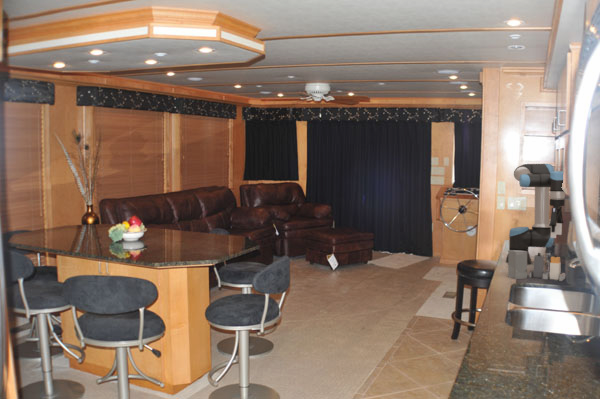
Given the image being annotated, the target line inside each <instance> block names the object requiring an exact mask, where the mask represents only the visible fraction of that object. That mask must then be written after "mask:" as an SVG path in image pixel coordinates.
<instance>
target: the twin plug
mask: <svg viewBox="0 0 600 399" xmlns="http://www.w3.org/2000/svg"><path fill="white" fill-rule="evenodd" d="M541 254H542V253H541V252H538V253H537V254H535V255H534V257H533V259H534V261H533V270H534V277H537V278H536V279H538V278H542V277H543V273H544V272H545V256H544V255H541Z"/></svg>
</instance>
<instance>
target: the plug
mask: <svg viewBox="0 0 600 399" xmlns="http://www.w3.org/2000/svg"><path fill="white" fill-rule="evenodd" d="M561 269H562V268H561V257H560V256H558V254H557V253H554V254H553V256H551V257H550V263H549V271H550V279H555V280H554V281H556V280H559V275H561V273H562V272H561V271H562V270H561Z"/></svg>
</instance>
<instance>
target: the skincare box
mask: <svg viewBox="0 0 600 399" xmlns="http://www.w3.org/2000/svg"><path fill="white" fill-rule="evenodd" d="M507 255H508V263H507V265H508V266H507V268H508V269H507V272H508V273H507V275H508V276H507V277H508V278H509V279H510V278H511V279H514V280H523V279H528V264H527V251H521V250H509V249H508V253H507Z"/></svg>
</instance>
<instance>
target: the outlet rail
mask: <svg viewBox="0 0 600 399" xmlns="http://www.w3.org/2000/svg"><path fill="white" fill-rule="evenodd" d="M528 278H530V279H538V280H539V279H540V280H546V281H547V280H549V281H558V282H563V281H564V280H565V279H566V273H565V272H561V273H560V275H559V280H555V279H550V270H549V271H544V273H543V277H542V278H537V277H534V269H532V270H530V271H528Z"/></svg>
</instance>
